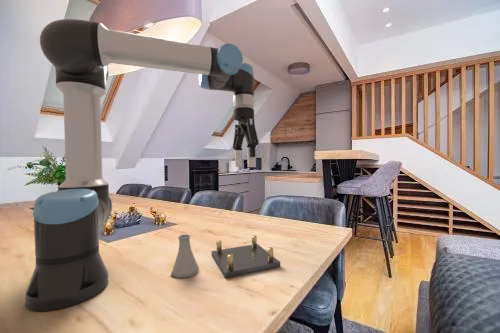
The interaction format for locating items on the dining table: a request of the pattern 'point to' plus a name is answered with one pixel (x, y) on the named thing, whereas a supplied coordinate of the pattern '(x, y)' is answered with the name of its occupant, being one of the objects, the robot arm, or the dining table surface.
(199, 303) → the dining table surface
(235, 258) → the pin plate
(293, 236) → the dining table surface
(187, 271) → the flask
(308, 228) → the dining table surface
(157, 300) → the dining table surface
